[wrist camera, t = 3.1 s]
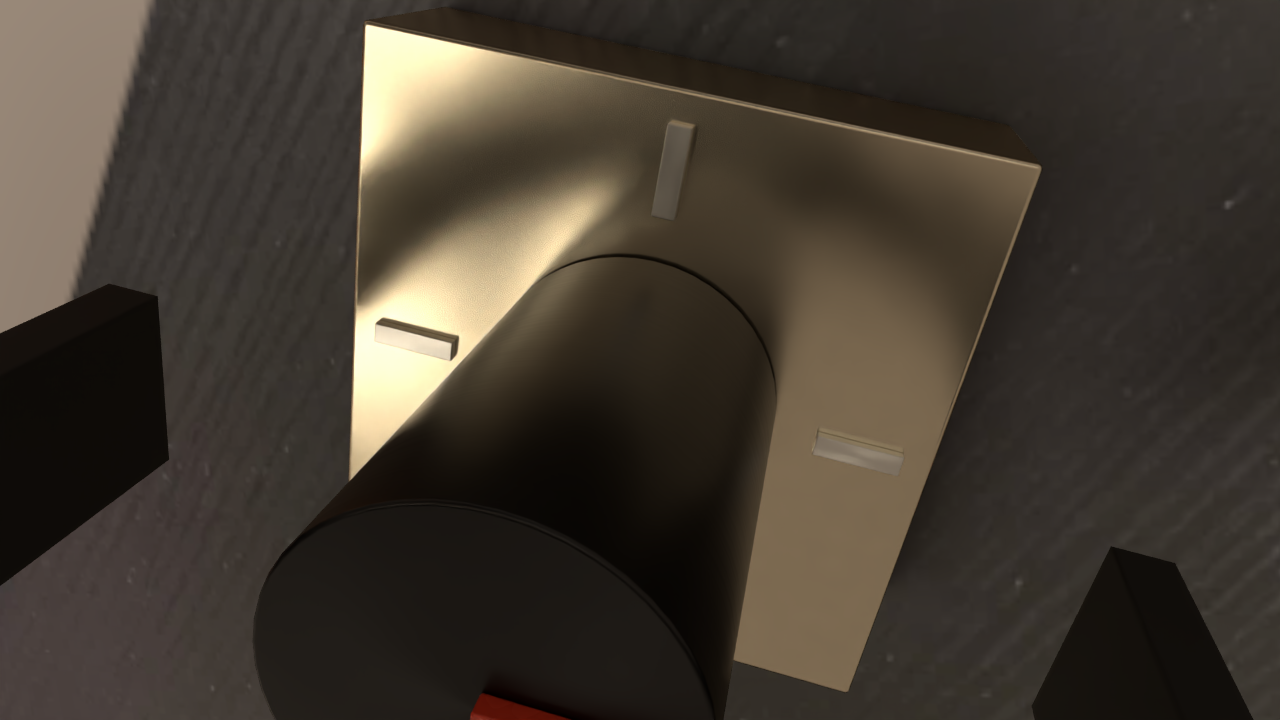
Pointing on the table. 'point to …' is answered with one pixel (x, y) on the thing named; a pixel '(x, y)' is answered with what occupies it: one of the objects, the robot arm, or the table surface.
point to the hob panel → (695, 266)
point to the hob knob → (543, 522)
